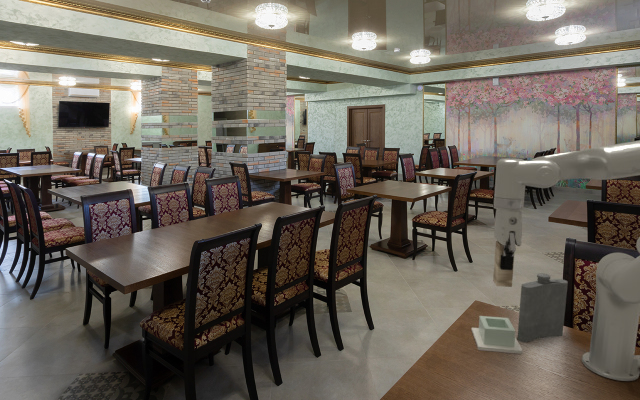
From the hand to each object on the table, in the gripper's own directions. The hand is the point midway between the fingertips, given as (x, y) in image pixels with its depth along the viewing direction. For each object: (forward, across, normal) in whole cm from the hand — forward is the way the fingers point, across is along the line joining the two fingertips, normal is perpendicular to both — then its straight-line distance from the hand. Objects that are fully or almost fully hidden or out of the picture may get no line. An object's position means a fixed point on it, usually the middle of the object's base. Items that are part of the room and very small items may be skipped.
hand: (503, 266), depth 115 cm
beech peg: (+5, 0, 0) cm, 5 cm away
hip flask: (+25, +9, -15) cm, 31 cm away
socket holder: (+25, +4, 0) cm, 26 cm away
